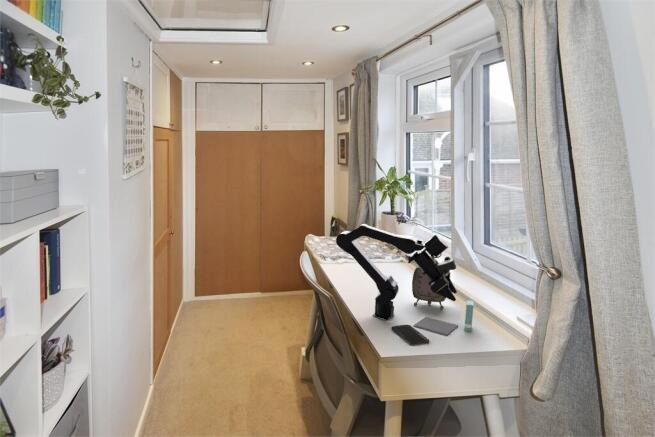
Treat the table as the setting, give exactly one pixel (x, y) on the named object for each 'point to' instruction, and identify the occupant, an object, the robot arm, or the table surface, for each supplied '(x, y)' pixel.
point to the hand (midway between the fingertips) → (455, 296)
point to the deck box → (469, 315)
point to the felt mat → (436, 326)
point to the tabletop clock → (424, 287)
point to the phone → (410, 335)
